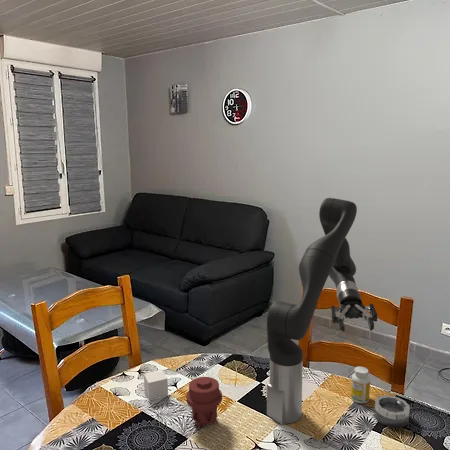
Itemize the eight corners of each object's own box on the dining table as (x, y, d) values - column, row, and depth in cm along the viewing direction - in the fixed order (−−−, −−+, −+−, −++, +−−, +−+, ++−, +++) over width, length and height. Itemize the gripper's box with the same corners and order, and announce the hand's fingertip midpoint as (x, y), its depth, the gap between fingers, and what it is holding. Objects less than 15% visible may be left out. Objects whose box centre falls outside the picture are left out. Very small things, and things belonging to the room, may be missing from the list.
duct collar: (397, 432, 113) (398, 418, 112) (368, 416, 120) (368, 403, 119) (414, 419, 118) (415, 406, 118) (385, 404, 125) (386, 391, 125)
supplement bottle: (354, 404, 125) (356, 374, 124) (348, 394, 131) (349, 365, 129) (372, 403, 126) (373, 373, 124) (364, 393, 131) (366, 364, 130)
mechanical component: (193, 436, 112) (182, 415, 121) (228, 426, 116) (214, 406, 125) (192, 394, 110) (181, 376, 119) (227, 385, 114) (213, 368, 123)
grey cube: (149, 401, 129) (148, 383, 128) (144, 391, 134) (143, 373, 133) (168, 396, 131) (167, 378, 130) (162, 386, 137) (162, 369, 136)
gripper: (327, 288, 146) (334, 321, 131) (370, 286, 144) (381, 319, 129) (327, 305, 149) (334, 339, 135) (369, 303, 147) (380, 337, 133)
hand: (357, 329), depth 132 cm, fingers open, 8 cm apart
